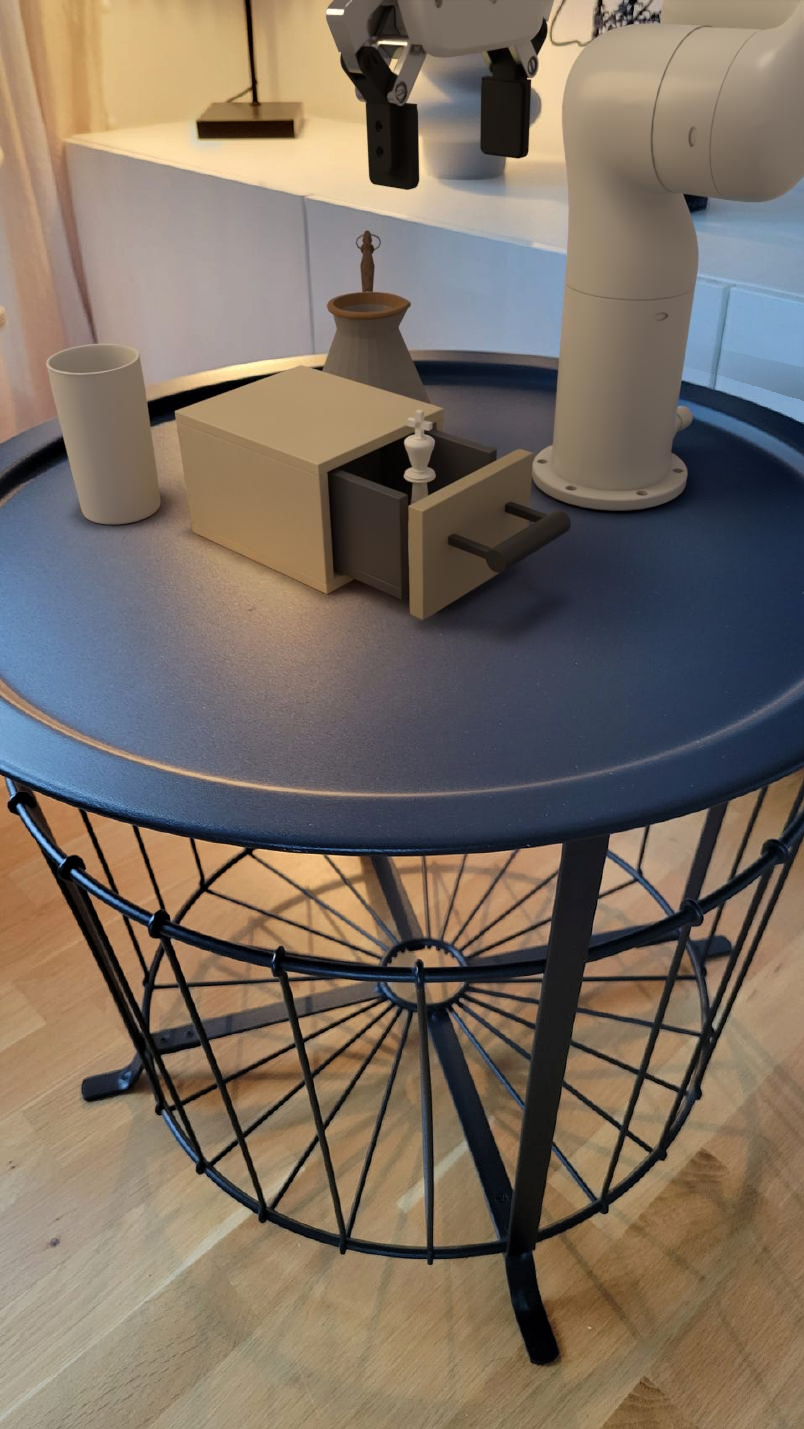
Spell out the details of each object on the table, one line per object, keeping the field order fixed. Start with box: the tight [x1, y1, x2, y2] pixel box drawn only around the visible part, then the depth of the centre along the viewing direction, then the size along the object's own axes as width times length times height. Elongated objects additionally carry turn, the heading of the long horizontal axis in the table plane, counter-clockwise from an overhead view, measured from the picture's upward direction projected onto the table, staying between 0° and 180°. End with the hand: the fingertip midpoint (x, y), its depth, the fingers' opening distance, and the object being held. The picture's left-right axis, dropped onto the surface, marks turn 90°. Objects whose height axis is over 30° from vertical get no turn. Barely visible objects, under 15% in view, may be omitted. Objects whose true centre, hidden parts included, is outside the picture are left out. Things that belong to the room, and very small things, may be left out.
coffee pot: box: [321, 230, 432, 405], centre depth 92 cm, size 21×12×15 cm, turn 1°
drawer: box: [327, 429, 572, 621], centre depth 72 cm, size 18×11×8 cm, turn 48°
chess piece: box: [404, 410, 436, 550], centre depth 71 cm, size 5×5×10 cm
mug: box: [45, 343, 162, 525], centre depth 82 cm, size 10×7×12 cm, turn 178°
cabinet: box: [174, 364, 445, 595], centre depth 78 cm, size 15×13×10 cm
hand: (451, 170), depth 60 cm, fingers open, 9 cm apart
